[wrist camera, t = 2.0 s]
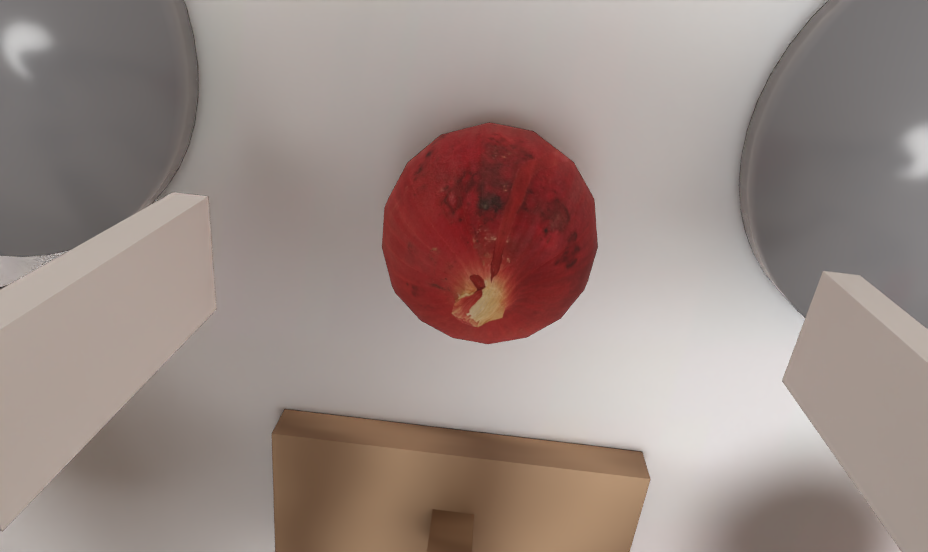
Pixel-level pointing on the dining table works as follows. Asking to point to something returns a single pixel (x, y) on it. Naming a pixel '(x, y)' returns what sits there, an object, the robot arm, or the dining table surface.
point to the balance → (447, 490)
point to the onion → (489, 234)
